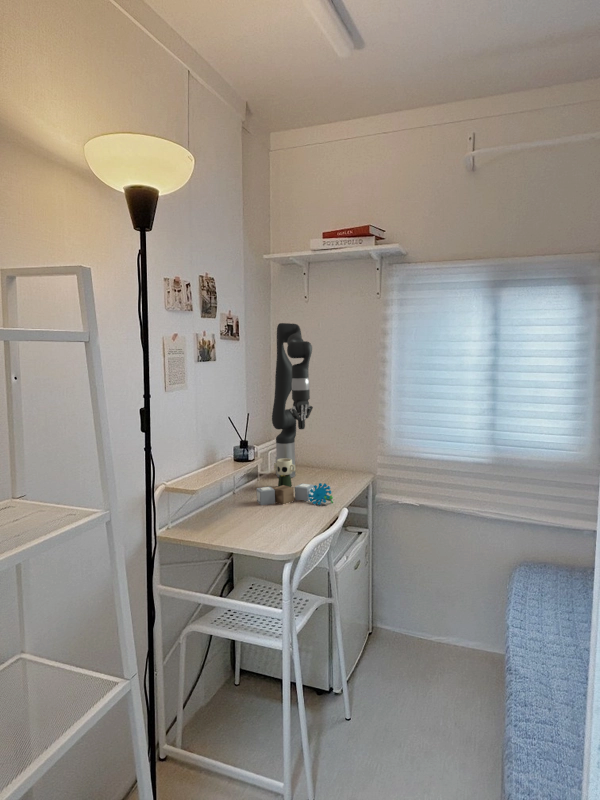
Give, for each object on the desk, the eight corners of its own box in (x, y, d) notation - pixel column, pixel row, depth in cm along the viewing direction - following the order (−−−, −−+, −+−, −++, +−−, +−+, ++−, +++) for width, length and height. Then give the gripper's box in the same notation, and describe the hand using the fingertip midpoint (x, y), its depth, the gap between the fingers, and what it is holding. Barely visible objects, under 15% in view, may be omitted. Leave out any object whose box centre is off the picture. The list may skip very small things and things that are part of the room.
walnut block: (273, 502, 223) (273, 488, 222) (283, 498, 227) (283, 485, 226) (283, 504, 219) (283, 490, 218) (293, 501, 223) (293, 487, 222)
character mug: (270, 488, 243) (269, 460, 242) (278, 484, 250) (277, 457, 248) (291, 491, 238) (291, 462, 237) (299, 487, 245) (298, 459, 243)
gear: (303, 499, 220) (315, 479, 224) (309, 506, 224) (321, 486, 228) (324, 507, 213) (336, 486, 217) (329, 514, 217) (341, 494, 221)
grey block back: (295, 500, 225) (294, 486, 224) (302, 496, 230) (301, 482, 229) (307, 502, 222) (307, 487, 221) (314, 498, 227) (314, 484, 226)
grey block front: (256, 501, 224) (256, 487, 223) (270, 499, 226) (270, 486, 226) (260, 505, 218) (260, 491, 218) (275, 503, 221) (274, 489, 220)
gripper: (296, 390, 219) (297, 432, 221) (317, 387, 229) (318, 427, 231) (283, 389, 224) (284, 430, 226) (304, 387, 234) (305, 426, 236)
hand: (301, 429), depth 228 cm, fingers closed
